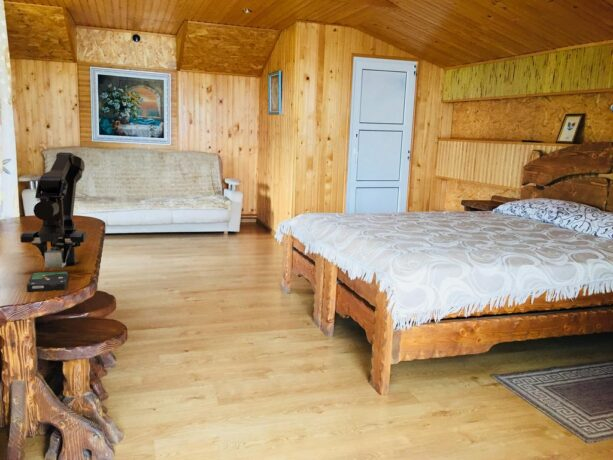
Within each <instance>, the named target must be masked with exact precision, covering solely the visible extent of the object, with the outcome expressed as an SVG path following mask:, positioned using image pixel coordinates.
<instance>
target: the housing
mask: <svg viewBox="0 0 613 460" xmlns="http://www.w3.org/2000/svg"><path fill="white" fill-rule="evenodd" d="M63 252H64V250H63V248H58V247H57V246H54V247H50V248H47V251H46V252H45V261H44V268H45V269H63V268H64V267H65V266H67V265H66V263H63Z"/></svg>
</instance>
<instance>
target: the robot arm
mask: <svg viewBox="0 0 613 460" xmlns="http://www.w3.org/2000/svg"><path fill="white" fill-rule="evenodd" d="M85 166H86V165H85V162H84V159H82V157H79V156H77V155H75V154H74V153H72V152H64V151H63V152H60V151H59V152H57V153H56V155H55V160H54V162H53V164H52V166H51V168H50V170H49V171H47V172H44V173H43V174H42V175H40V177H39V179H37V185H36V191H35V197H34V198H35V199H39V201H38V202H37V203H36V204H35V205H34V206H33V210H32V211H33V214H34V216H35V217H36V218H37V219H39V220H42V226H41V227H40V229H39V231H38V230H26V231H25V232H23V233H21V234H20V238H19V239H20V243H25V244H26V243H31V245H32V246H35V247H36V248H37V249H38V250H39V252H40V253H41V256H42V258H43V260H44V262H45V252H46V251H47V250H48V243H50V248H52V247H54V246H57V247H58V248H63V250H64V252H63V263H66V265H65V266H74V265H76V264H77V263H78V262H79V259H76V248H78V247H81V246H82V245H81V244H83V243H84V242H86V241H87V240H88V233H87V232H86V231H85V230H83V231H80V230H77V226H76V224H75V222H74V210H75V209H74V208H75V200H76V199H75V198H76V190H77V183H79V181H80V180H81V179H82V178H83V174H84V173H83V172H84V171H85V168H86V167H85Z"/></svg>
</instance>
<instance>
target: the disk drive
mask: <svg viewBox="0 0 613 460" xmlns="http://www.w3.org/2000/svg"><path fill="white" fill-rule="evenodd" d="M69 280H70V271H69V270H62V271H61V270H60V271H54V270H53V271H45V272H38V271H37V272H34V273H33V272H32V274H31V276H30V278H29V280H28V282H27V284H26V292H27V293H35V292H36V293H37V292H50V291H51V292H53V290H56V291H67V288H68V283H69Z"/></svg>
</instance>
